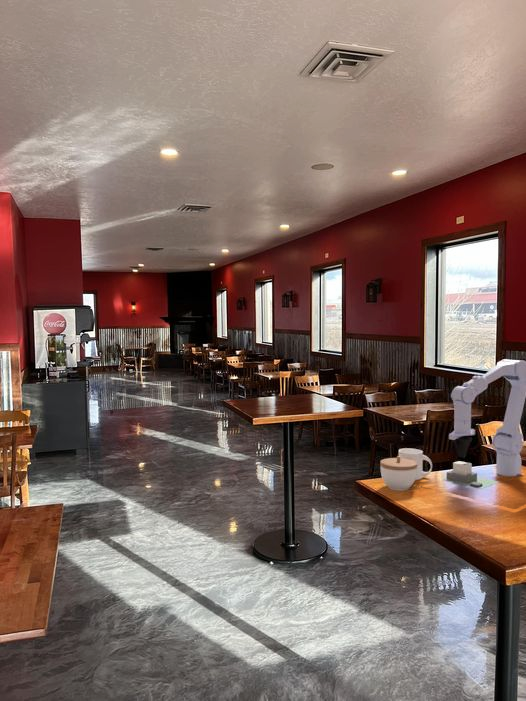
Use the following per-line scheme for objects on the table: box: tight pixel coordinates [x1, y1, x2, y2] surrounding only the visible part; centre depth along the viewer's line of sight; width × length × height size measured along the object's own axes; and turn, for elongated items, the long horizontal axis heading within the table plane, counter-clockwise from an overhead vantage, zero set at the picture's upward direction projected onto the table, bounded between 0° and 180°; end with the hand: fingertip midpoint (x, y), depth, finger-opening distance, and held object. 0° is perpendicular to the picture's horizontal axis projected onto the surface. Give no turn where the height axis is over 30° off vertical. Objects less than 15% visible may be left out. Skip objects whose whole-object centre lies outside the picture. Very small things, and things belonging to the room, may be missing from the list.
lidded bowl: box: [379, 455, 417, 492], centre depth 195 cm, size 13×13×11 cm
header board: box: [442, 469, 500, 490], centre depth 201 cm, size 13×15×4 cm
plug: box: [452, 460, 473, 476], centre depth 203 cm, size 8×5×6 cm, turn 130°
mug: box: [398, 447, 433, 481], centre depth 205 cm, size 9×12×11 cm
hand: (462, 456), depth 202 cm, fingers closed
